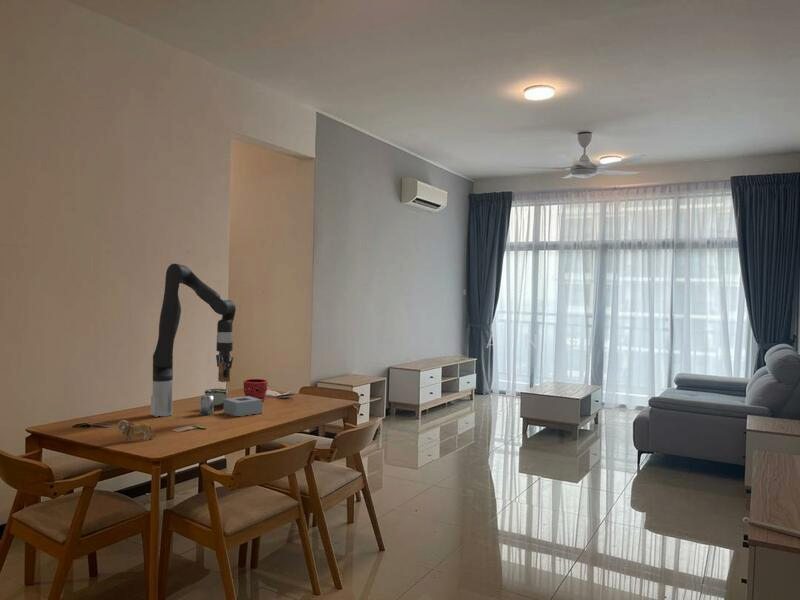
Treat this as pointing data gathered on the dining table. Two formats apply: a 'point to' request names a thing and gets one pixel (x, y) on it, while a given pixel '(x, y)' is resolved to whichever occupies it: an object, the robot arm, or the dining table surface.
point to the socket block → (242, 406)
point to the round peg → (206, 404)
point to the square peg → (222, 374)
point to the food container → (217, 397)
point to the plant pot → (255, 388)
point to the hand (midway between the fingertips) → (224, 376)
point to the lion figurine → (134, 429)
